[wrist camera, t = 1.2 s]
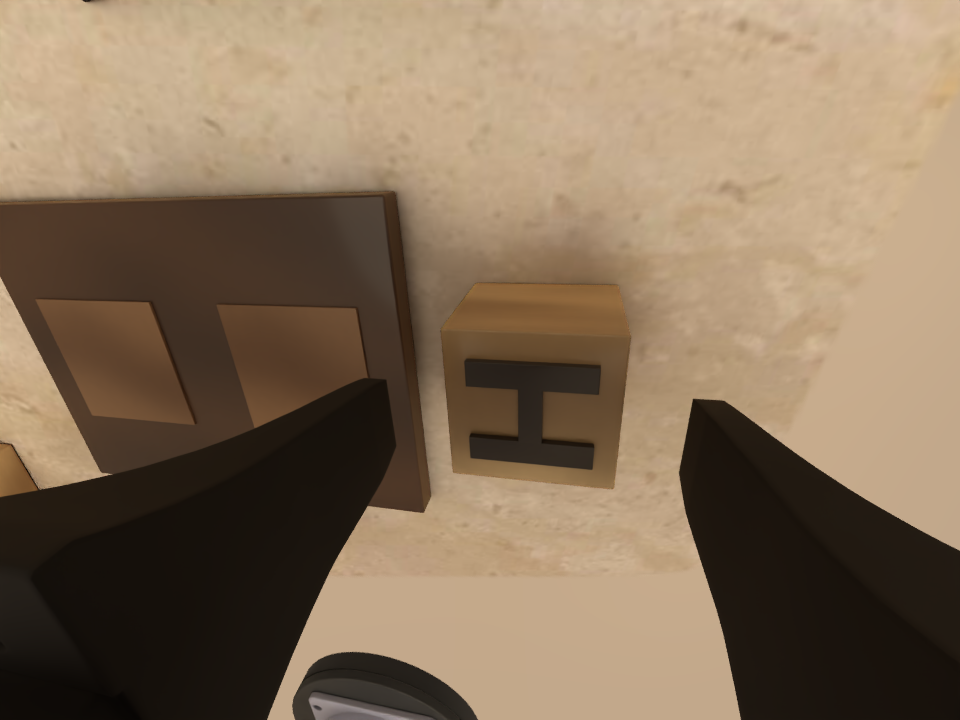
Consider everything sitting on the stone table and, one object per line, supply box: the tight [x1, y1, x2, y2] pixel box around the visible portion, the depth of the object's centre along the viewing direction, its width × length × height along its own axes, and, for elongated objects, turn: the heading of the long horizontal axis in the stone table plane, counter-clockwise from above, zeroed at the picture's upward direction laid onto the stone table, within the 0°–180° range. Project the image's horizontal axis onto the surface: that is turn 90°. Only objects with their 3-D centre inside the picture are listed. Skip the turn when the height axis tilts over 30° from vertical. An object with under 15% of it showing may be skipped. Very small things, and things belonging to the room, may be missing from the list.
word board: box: [0, 191, 431, 513], centre depth 17 cm, size 12×16×1 cm
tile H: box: [441, 283, 631, 489], centre depth 13 cm, size 4×4×4 cm
